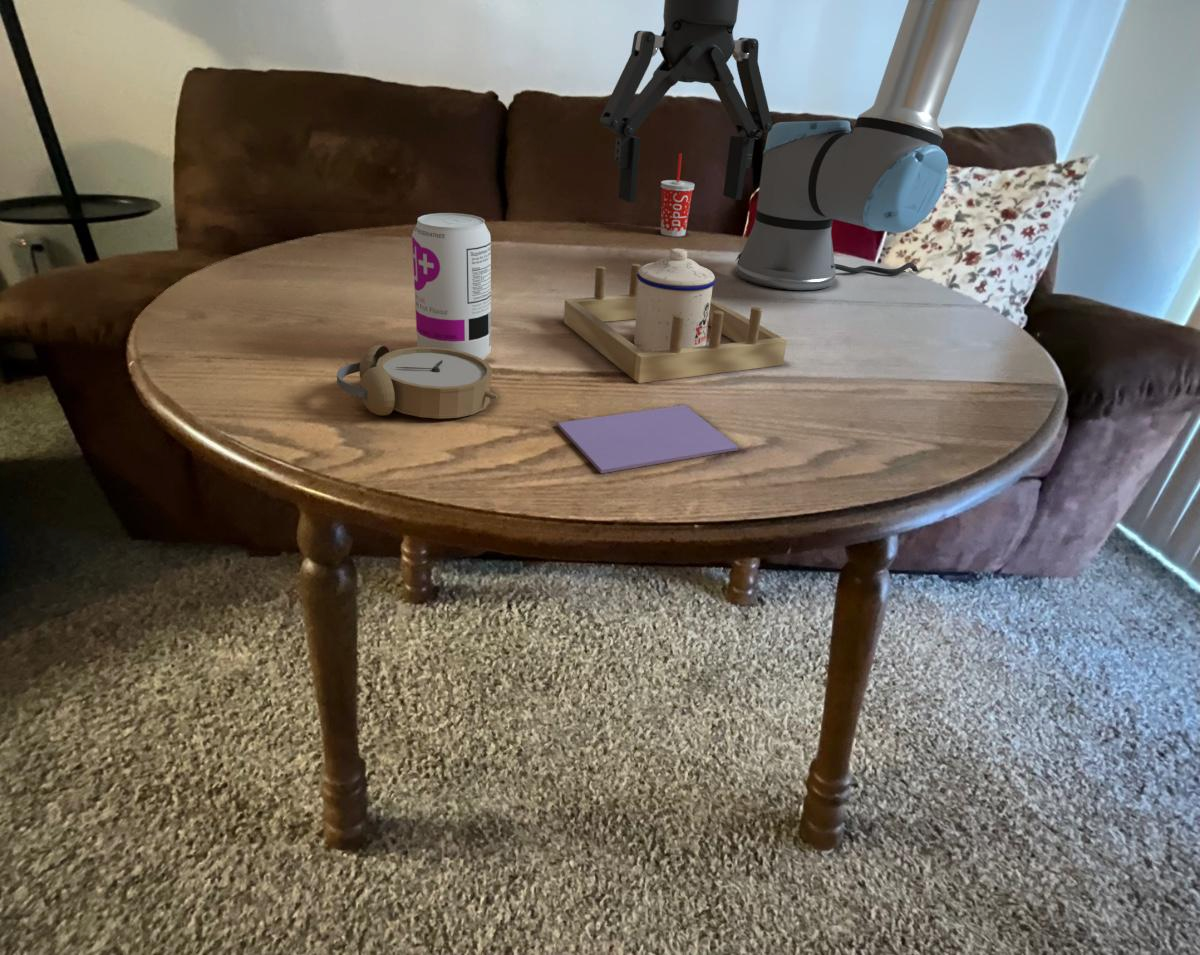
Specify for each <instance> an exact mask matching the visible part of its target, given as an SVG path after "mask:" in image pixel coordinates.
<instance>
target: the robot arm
mask: <svg viewBox="0 0 1200 955" xmlns="http://www.w3.org/2000/svg"><path fill="white" fill-rule="evenodd" d="M980 2H981V0H908V1H907V5H906V8H905V10H904V13H903V16H902V19H901V22H900V25H899V28H898V31H897V33H896V37H895V40H894V44H893V46H892V49H891V52H890V55H889V57H888V61H887V64H886V67H885V70H884V73H883V76H882V79H881V82H880V85H879V88H878V90H877V94H876V97H875V100H874V102H873V104H872V106H871V107H870V108H868V109H867V110H865V111H864V112H862V113H860V114H859V115H858V116H857V118H856V121H855V124H854V128H853V129H851V122H850V121H849V120H812V121H811V120H809V121H780V122H776V123H775V124H773V120H772V118H771V117H772V116H771V112H770V108H769V104H768V100H767V95H766V90H765V88H764V83H763V79H762V73H761V70H760V66H759V65H760V64H759V44H760V43H759V40H758V39H757V38H753V37H752V38H751V37H739V38H738V39H734V28H735V26H736V23H737V18H738V13H739V12H738V11H739V5H740V4H739V3H740V0H664V5H663V14H662V15H663V29H662V32H661V34H660V35H659V34H655V33H654V32H653V31H649V30H637V31H635V32H634V34H633V39H632V45H631V51H630V56H629V58H628V60H627V61H626V63H625V65H624V68H623V70H622V72H621V73H620V76H619V77H618V80H617V83H616V84H615V87H614V89H613V90H612V92H611V94H610V97H609V99H608V101H607V103H606V105H605V107H604V109H603V111H602V114H601V116H600V118H599V125H600V126H601V127H603V128H605V129H607V130H609V131H612V133H614V136H615V143H614V144H615V145H614V159H613V161H614V162H613V163H614V165H615V167H616V168H619V169H620V170H619V171H620V172H619V188H618V189H619V190H618V198H619V199H620V200H623V201H626V202H628V203H636V201H637V191H638V179H639V178H638V177H639V164H640V153H641V137H640V136H639V137H638V136H635V133H636V132H637V131H638V129H639V128H640V127H641V125H642V124H643V123H644V122H645V121H646V119H647V118H648V117H649V115H650V114H651V113H652V112H653V110H654V109H655V108H656V107H657V105H658V104H659V103H660V102H661V100H662V99H663V98H664V96H665V95H666V94H667V93H668V91H669V90H670V89H671V88H672V87H673V86H675V85H677V83H678V82H681V83H690V84H691V83H701V84H709V85H710V86H711V87H712V88H713V89H714V91H715V93H716V95H717V98H719V101H720V103H721V104H722V106H723V108H724V110H725V112H726V114H727V116H728V118H729V119H730V121H731V123H732V125H733V127H734V129H735V131H736V133H737V134H738V136H737V135H730V137H729V147H728V152H727V153H728V155H727V161H726V171H725V178H724V186H723V194H722V196H724V197H726V198H729V199H732V200H735V201H741V200H742V196H743V190H744V182H745V175H746V169H750V167H751V165H752V161H753V154H754V147H755V141H756V140H759V139H761V137H762V136H763V133H767V137H766V141H765V146H764V150H763V152H762V164H761V171H760V180H759V186H758V187H759V188H758V196H757V203H756V211H755V216H754V217H755V218H754V223H753V227H752V229H751V231H750V233H749V234H748V237H747V239H746V242H745V244H744V246H743V248H742V250H741V252H740V253H739V254H738V255H737V257H736V259H735V261H736V269H735V272H736V275H737V276H739V277H740V278H741V279H743V280H745V281H747V282H749V283H752V284H755V285H760V286H764V287H769V288H773V289H782V290H788V291H789V290H791V291H813V290H814V291H815V290H822V289H826V288H830V287H831V286H832V285H833V284H834V283H835V278H836V270H838V271H842V272H844V273H845V272H846V273H850V274H859V273H861V272H873V273H878V274H881V275H882V274H883V275H898V274H901V273H903V272H904V271H906V270H908V269H911V271H912V272H914V273H919V268H918V267H917V265H916V264H915V263H914V262H906V263H904V264H903V265H902V266H900V267H897V268H884V267H880V266H874V265H859V266H857V267H851V266H847V265H843V264H838V263H835V256H834V246H833V238H832V228H833V221H839V222H844V223H848V224H852V225H855V226H858V227H864V228H866V229H868V230H871V231H874V232H887V233H891V234H900V233H905V232H908V231H910V230H912V229H914V228H916V227H917V226H918V225H919V224H920V223H922V222H923V221H924V220H925V219H926V218H927V217H928V216H929V215H930V213H932V211H933V210H934V209H935V207H936V205H937V203H938V202H939V200H940V198H941V196H942V194H943V192H944V189H945V186H946V183H947V180H948V174H949V173H948V171H947V169H949V159H948V155H947V154H946V152H945V151H944V150H943V149H942V148H941V144H942V141H943V138H944V134H943V132H942V130H941V127H940V126H939V123H938V119H939V116H940V113H941V112H942V111H941V110H942V108H943V105H944V103H945V99H946V96H947V94H948V90H949V89H950V85H951V83H952V80H953V77H954V74H955V72H956V69H957V66H958V63H959V61H960V58H961V55H962V53H963V49H964V47H965V44H966V40H967V38H968V35H969V33H970V30H971V27H972V24H973V22H974V20H975V19H974V18H975V16H976V13H977V10H978V7H979V5H980ZM658 50H659V52H660V54H661V57H662V58H663V60H662V61H661V62H660V64H659V65H658V66H657V67H656V68H655V70H654V71H653V73H652V77H651V79H650V80H648V82H647V83H646V85H645V86H644V87H643V88H642V90H641V91H640V93H639V94H638V95H637V96H636V97H634V96H635V95H636V93H637V90H638V89H639V87H640V85H641V83H642V81H643V79H644V76H645V75H646V73H647V70H648V68H649V66H650V64H651V61H652V59H653V57H655V56H656V54H657V53H658ZM732 57H733V59H734V61H735V64H736V70H737V74H738V78H739V82H740V85H741V89H742V94H743V97H744V99H743V97H742V95H741V93H740V92H739V89H738V88H737V86H736V83H735V82H734V81H735V77H734V75H733V73H732V71H731V70H730V67H729V66H728V64H727V63H728V62H729V60H730V58H732ZM633 99H634V100H633ZM852 130H853V131H852ZM851 132H852V133H851Z"/></svg>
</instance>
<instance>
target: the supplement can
mask: <svg viewBox="0 0 1200 955" xmlns="http://www.w3.org/2000/svg"><path fill="white" fill-rule="evenodd" d="M485 222H486V221H485V219H484V218H482V217H481V216H477V215H474V214H467V213H457V212H439V213H429V214H424V215H421V216H418V217H417V223H416V224H415V226H414V229H413V231H412V234H411V241H412V242H411V245H412V262H413V264H412V265H413V282H414V283H413V284H414V303H415V305H414V307H415V325H416V347H436V348H447V349H452V350H457V351H462V352H466V353H469V354H471V355H474V356H477V357H479V358H481V359H482V360H484V361H485V359H486V358H487V357H488V355H489V354H490V353H492V269H491V268H492V267H491V266H492V262H491V261H492V256H491V255H492V254H491V252H492V250H491V248H492V244H491V242H492V241H491V240H492V239H491V238H492V237H491V233H490V231H489V229H488V227H487V225H486V223H485Z"/></svg>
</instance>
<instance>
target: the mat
mask: <svg viewBox="0 0 1200 955" xmlns="http://www.w3.org/2000/svg"><path fill="white" fill-rule="evenodd" d="M557 427H558V429H559V430H560V431H561V432H562V433H563V434H564V435H565V436H566V437H567V439H568V440H569V441H570V442H571V443H572V444H573V445H574V446H575V447H576V448H577V449H578V450H579V451H580V452H581V454H582V455H583V456H584V457H585V458H586V459H587V460H588V461H589V462H590V463H591V465H592V466H593V467H594V468H595V469H596V470H597V471H598V472H599V473H600V474H607V473H612V472H619V471H623V470H624V471H625V470H631V469H635V468H642V467H648V466H655V465H659V464H666V463H672V462H679V461H683V460H689V459H694V458H701V457H707V456H712V455H713V456H714V455H719V454H725V453H731V452H736V451H738V450H739V446H738V445H737V444H736V443H734V442H733V441H731V440H730V439H729V438H727V437H726V436H725V435H724V434H723V433H721V432H720V431H719V430H717V429H716V428H715V427H714V426H712V425H711V424H710V423H709V422H707V421H706V420H705V419H704V418H702V417H701V416H699V414H697V413H696V412H695V411H693V410H692V409H691V408H689V407H688V406H687V405H686V404H682V405H681V404H680V405H675V406H667V407H661V408H653V409H646V410H640V411H633V412H625V413H619V414H611V415H604V416H596V417H590V418H583V419H575V420H568V421H561V422H557Z"/></svg>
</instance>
